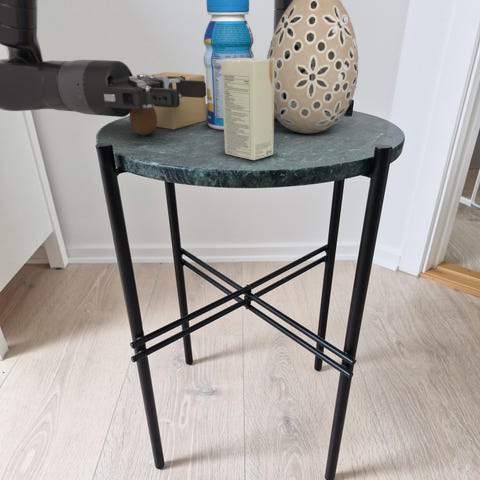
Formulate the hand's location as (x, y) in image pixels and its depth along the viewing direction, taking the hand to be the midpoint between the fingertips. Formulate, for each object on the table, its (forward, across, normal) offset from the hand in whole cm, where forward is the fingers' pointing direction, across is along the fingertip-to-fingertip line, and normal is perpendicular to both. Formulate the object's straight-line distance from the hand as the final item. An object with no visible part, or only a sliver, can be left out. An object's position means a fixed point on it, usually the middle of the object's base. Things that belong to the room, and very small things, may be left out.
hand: (192, 93), depth 64 cm
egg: (-12, +5, +8) cm, 15 cm away
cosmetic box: (+8, 0, +8) cm, 12 cm away
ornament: (+13, +16, +8) cm, 22 cm away
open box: (-13, +17, +8) cm, 23 cm away
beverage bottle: (-1, +17, +8) cm, 19 cm away
